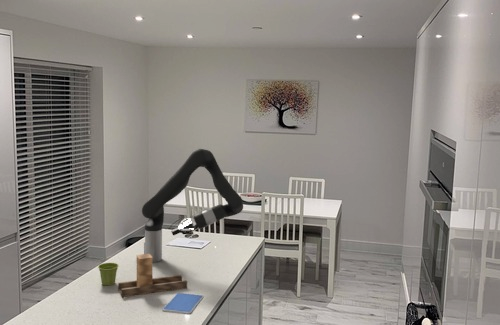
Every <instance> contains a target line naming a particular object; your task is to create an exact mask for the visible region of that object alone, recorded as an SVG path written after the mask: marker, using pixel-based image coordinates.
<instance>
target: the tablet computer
mask: <svg viewBox="0 0 500 325" xmlns="http://www.w3.org/2000/svg"><path fill="white" fill-rule="evenodd" d="M203 298H204V295H201V294H200V295H199V294H194V293H183V292H177V293H176V294H175V295H173V297H172V298H171V299H170V301H169V302H167V303H166V304H165V305H164V307H163V308H162V312H167V313H175V314H181V315H182V314H183V315H189V314H191V313H192V312H193V311H194V310H195V308H197V306H198V304H200V302H201V301H202V299H203Z"/></svg>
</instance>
